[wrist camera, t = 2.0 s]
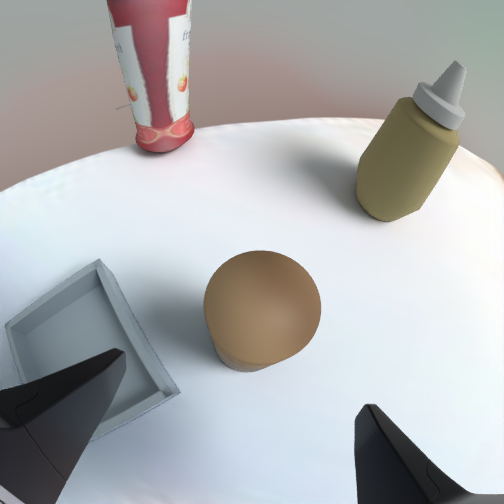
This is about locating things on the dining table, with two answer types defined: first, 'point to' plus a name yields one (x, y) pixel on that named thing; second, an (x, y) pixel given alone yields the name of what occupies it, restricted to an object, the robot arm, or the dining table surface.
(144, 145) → the liquor
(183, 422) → the dining table surface
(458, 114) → the squeeze bottle
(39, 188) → the dining table surface
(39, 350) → the bin
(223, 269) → the walnut cylinder
